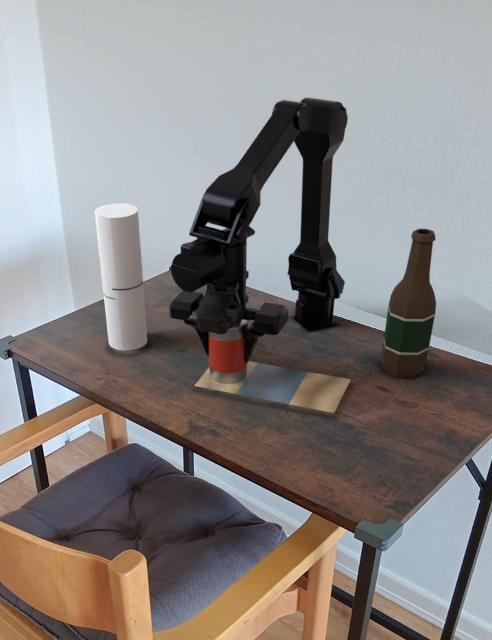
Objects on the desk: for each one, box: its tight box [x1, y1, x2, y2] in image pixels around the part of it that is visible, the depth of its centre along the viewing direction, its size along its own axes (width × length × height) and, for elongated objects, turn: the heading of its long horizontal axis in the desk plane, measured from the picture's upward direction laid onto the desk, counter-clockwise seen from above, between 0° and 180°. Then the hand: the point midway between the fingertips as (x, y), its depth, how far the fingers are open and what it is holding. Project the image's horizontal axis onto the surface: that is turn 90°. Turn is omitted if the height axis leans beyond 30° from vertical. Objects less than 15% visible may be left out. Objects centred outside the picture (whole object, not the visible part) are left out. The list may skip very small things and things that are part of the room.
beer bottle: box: [380, 228, 437, 379], centre depth 124 cm, size 8×8×24 cm
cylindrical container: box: [94, 202, 148, 352], centre depth 132 cm, size 7×7×25 cm
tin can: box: [208, 320, 249, 384], centre depth 126 cm, size 6×6×10 cm
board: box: [194, 360, 352, 414], centre depth 126 cm, size 24×11×1 cm, turn 68°
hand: (228, 358), depth 127 cm, fingers closed on tin can, 6 cm apart
